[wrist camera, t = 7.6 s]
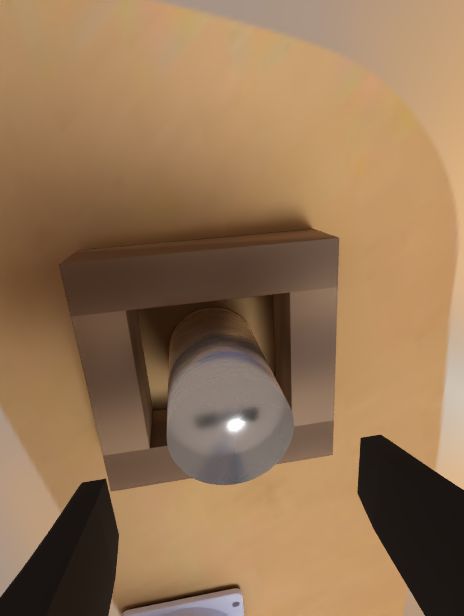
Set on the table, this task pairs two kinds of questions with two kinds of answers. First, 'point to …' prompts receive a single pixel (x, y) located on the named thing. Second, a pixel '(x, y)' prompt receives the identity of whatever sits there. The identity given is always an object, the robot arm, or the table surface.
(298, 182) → the table surface
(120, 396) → the walnut socket block
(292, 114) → the table surface
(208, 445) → the metal peg
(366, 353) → the table surface
